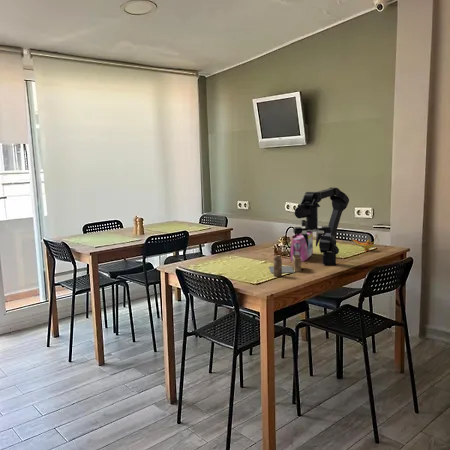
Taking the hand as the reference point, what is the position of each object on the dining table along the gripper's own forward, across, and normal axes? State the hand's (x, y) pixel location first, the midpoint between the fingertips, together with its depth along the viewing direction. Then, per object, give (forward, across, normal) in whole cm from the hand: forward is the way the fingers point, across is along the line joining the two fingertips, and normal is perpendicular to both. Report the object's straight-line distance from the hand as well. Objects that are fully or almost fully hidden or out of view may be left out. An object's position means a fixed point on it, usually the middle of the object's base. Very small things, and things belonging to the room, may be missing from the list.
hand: (312, 246), depth 232 cm
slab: (+12, +8, 0) cm, 15 cm away
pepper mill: (+12, +19, +12) cm, 25 cm away
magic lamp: (+12, -39, -43) cm, 59 cm away
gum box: (+12, +1, -30) cm, 32 cm away
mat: (+12, +16, 0) cm, 20 cm away
